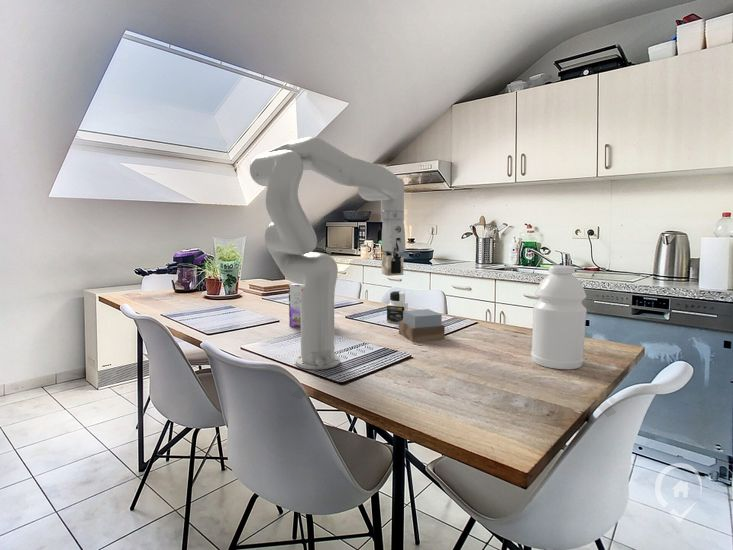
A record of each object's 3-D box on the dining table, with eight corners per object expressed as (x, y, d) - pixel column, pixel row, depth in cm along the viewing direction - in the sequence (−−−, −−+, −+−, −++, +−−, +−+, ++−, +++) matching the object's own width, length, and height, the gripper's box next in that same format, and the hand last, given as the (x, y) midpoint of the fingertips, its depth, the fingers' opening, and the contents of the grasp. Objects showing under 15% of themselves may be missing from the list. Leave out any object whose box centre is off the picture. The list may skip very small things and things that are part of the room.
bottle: (551, 372, 120) (557, 269, 117) (520, 357, 133) (525, 264, 130) (594, 367, 124) (601, 268, 120) (560, 353, 137) (565, 263, 134)
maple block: (403, 274, 145) (403, 256, 144) (387, 275, 143) (387, 257, 143) (396, 272, 150) (396, 255, 150) (381, 273, 149) (381, 255, 148)
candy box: (327, 324, 174) (326, 282, 172) (324, 327, 169) (324, 285, 167) (292, 323, 176) (292, 282, 174) (288, 326, 170) (288, 284, 168)
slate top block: (441, 326, 153) (441, 314, 152) (415, 328, 149) (415, 316, 149) (428, 319, 162) (428, 309, 162) (403, 321, 159) (403, 310, 158)
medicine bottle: (386, 322, 178) (386, 292, 177) (390, 318, 185) (391, 290, 184) (404, 323, 176) (404, 293, 175) (407, 319, 183) (408, 291, 181)
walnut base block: (444, 340, 153) (444, 326, 153) (412, 343, 149) (412, 328, 149) (428, 332, 164) (429, 318, 164) (398, 334, 161) (398, 320, 160)
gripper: (414, 216, 137) (413, 274, 140) (393, 216, 154) (393, 268, 156) (391, 217, 135) (391, 276, 138) (372, 216, 151) (373, 269, 154)
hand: (392, 271), depth 147 cm, fingers closed on maple block, 5 cm apart
